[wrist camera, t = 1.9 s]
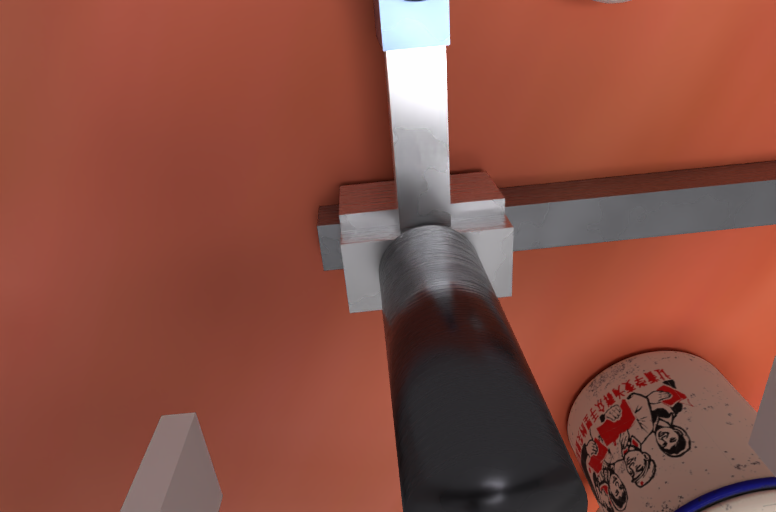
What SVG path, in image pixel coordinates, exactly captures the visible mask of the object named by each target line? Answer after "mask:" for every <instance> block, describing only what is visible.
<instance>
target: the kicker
mask: <svg viewBox="0 0 776 512" xmlns="http://www.w3.org/2000/svg"><path fill="white" fill-rule="evenodd" d="M373 2H374V14H375V26H376V36H377V39H378V41H379V43H380V46H381V48H382V50H383V51H384V60H385V72H386V85H387V97H388V110H389V122H390V135H391V147H392V160H393V172H394V181H385V182H375V183H365V184H355V185H345V186H340V197H339V220H340V227H341V252H342V259H343V267H344V274H345V282H346V289H347V296H348V304H349V311H350V313H354V312H364V311H373V310H382V311H383V321H384V331H385V341H386V350H387V360H388V370H389V379H390V389H391V399H392V409H393V418H394V428H395V438H396V447H397V457H398V467H399V477H400V486H401V496H402V506H403V512H587V507H588V500H587V494H586V491H585V488H584V486H583V484H582V481H581V479H580V477H579V475H578V473H577V470H576V468H575V466H574V464H573V462H572V459H571V457H570V455H569V453H568V451H567V449H566V446H565V444H564V442H563V440H562V438H561V435H560V433H559V431H558V429H557V427H556V425H555V422H554V420H553V418H552V416H551V414H550V411H549V409H548V407H547V405H546V403H545V401H544V398H543V396H542V394H541V392H540V390H539V387H538V385H537V383H536V381H535V379H534V376H533V374H532V372H531V370H530V368H529V366H528V363H527V361H526V359H525V357H524V355H523V352H522V350H521V348H520V346H519V344H518V342H517V339H516V337H515V335H514V333H513V331H512V328H511V326H510V324H509V322H508V320H507V318H506V315H505V313H504V311H503V309H502V307H501V304H500V302H499V300H498V297H507V296H512V266H513V230H514V227H513V226H512V224H511V223H510V221H509V219H508V218H507V216H506V215H505V198H504V196H503V195H502V193H501V192H500V190H499V189H498V187H497V186H496V185H495V183H494V182H493V180H492V179H491V177H490V176H489V174H488V173H487V171H485V172H475V173H465V174H455V175H450V169H449V136H448V104H447V71H446V45H450V23H449V0H373Z"/></svg>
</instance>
